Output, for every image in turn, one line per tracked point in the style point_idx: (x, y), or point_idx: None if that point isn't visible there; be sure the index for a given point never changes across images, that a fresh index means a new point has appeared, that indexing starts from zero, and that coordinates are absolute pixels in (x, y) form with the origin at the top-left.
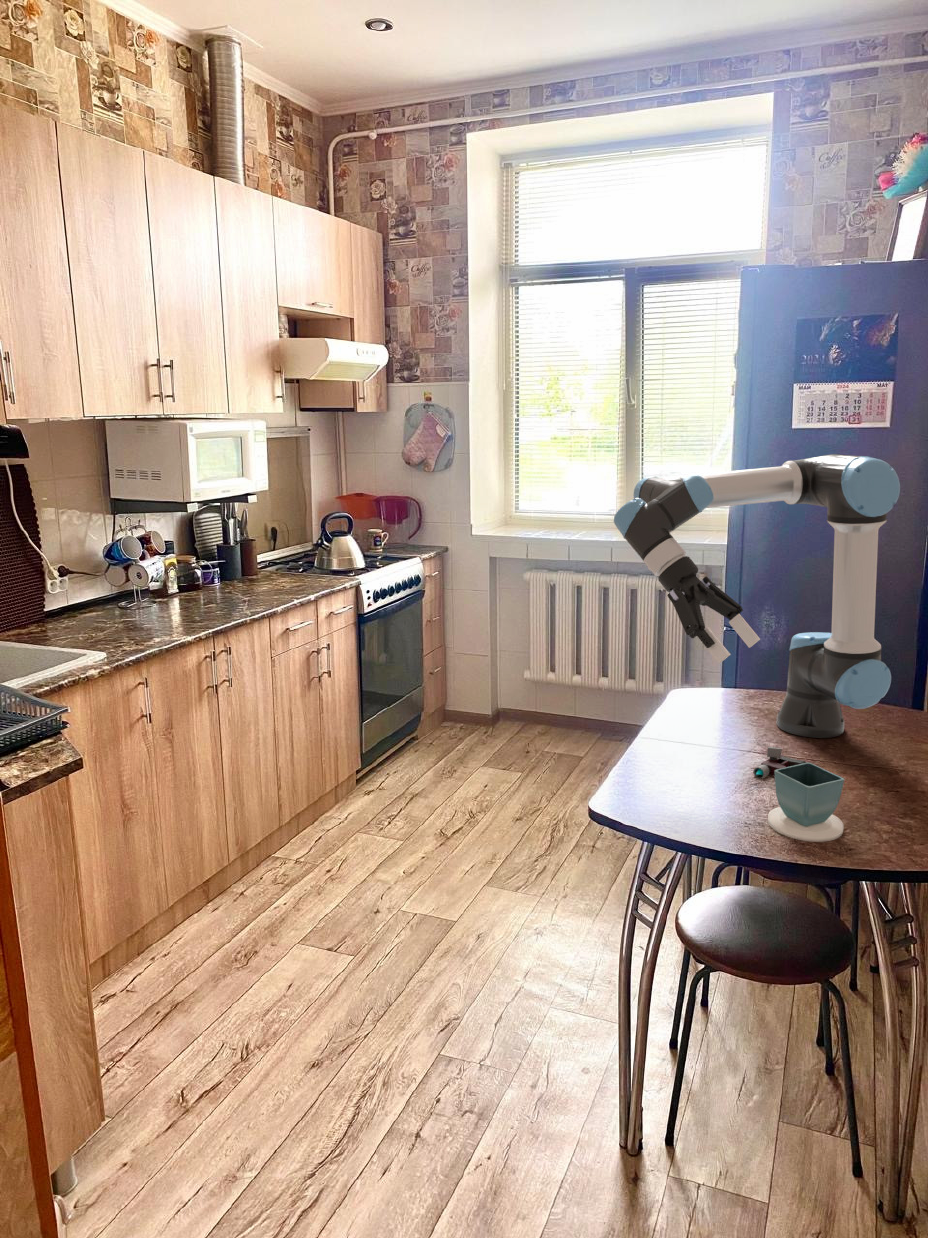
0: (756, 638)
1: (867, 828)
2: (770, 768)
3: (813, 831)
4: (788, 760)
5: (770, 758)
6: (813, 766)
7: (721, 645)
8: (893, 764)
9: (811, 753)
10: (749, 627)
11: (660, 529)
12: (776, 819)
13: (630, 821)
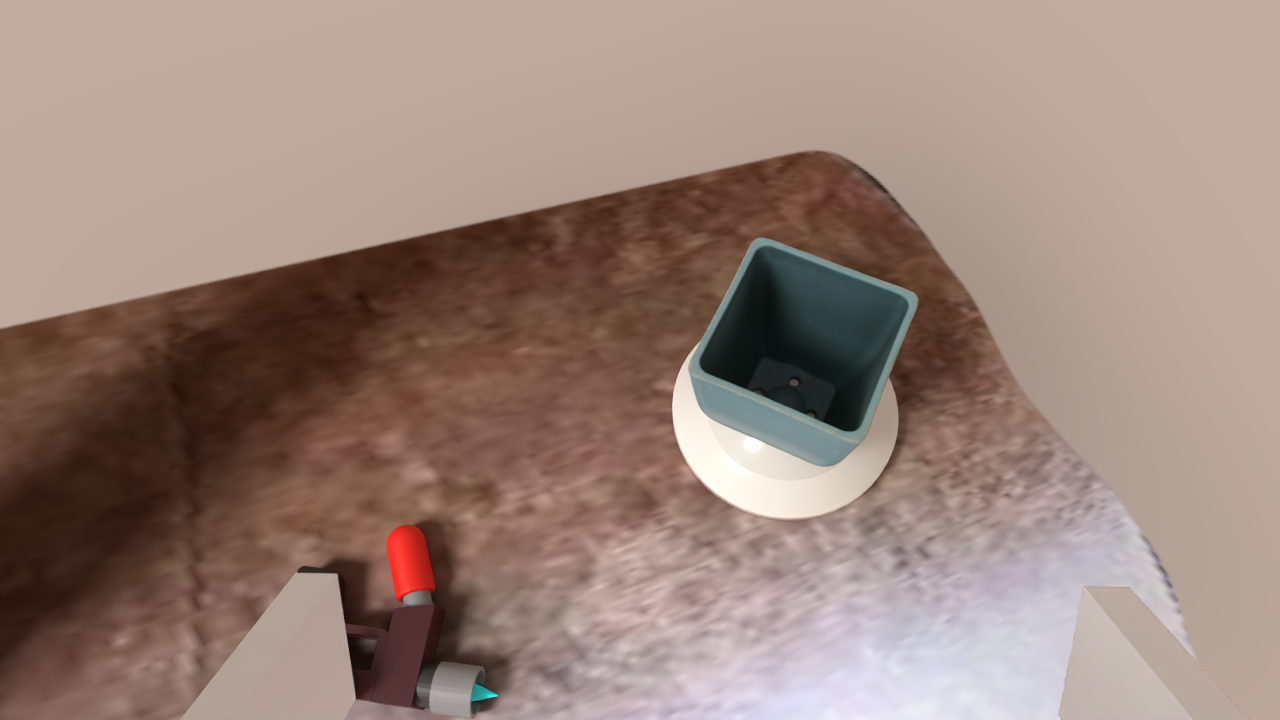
0: (327, 600)
1: (677, 283)
2: (424, 662)
3: None
4: None
5: None
6: (704, 352)
7: (1202, 684)
8: (128, 361)
9: (124, 616)
10: (231, 698)
11: None
12: (843, 475)
13: None
